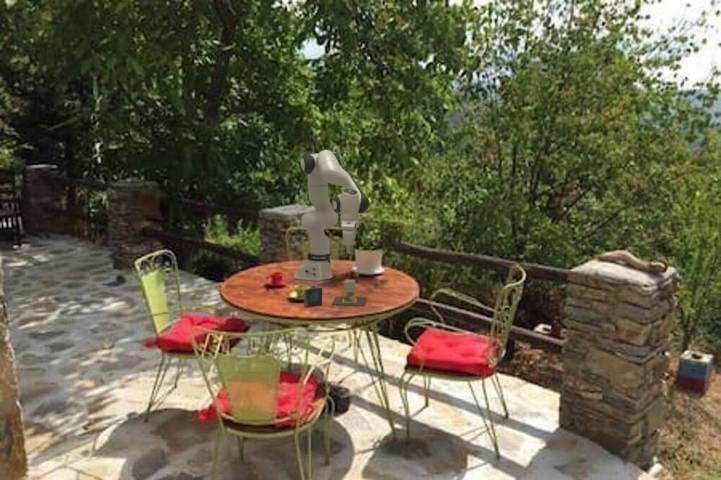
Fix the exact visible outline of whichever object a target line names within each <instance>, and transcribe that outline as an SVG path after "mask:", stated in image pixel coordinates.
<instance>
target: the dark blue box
mask: <svg viewBox="0 0 721 480" xmlns="http://www.w3.org/2000/svg"><path fill="white" fill-rule="evenodd" d="M303 301H304V302H303V304H304V305H303V306H304V308H311V307H317V306H318V307H319V306H322V305H323V287H321V286H319V285H317V286H316V285H314V283H312V284H311V286H310V287H306V288H304V289H303Z"/></svg>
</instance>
